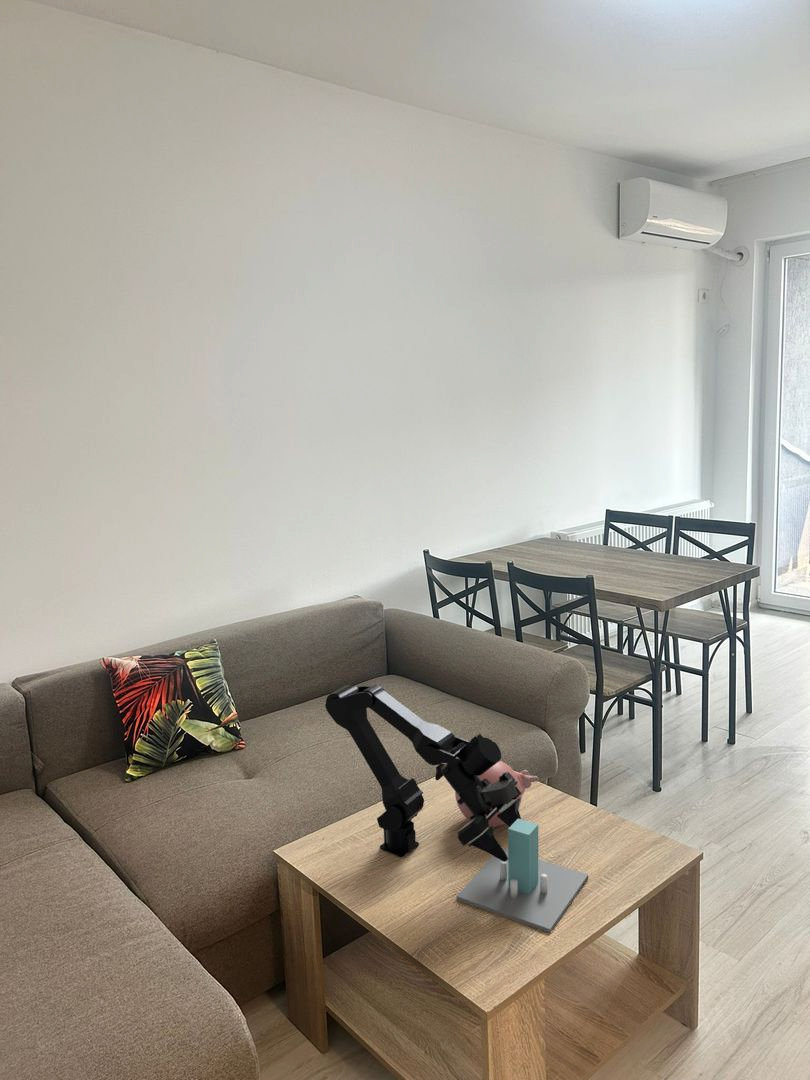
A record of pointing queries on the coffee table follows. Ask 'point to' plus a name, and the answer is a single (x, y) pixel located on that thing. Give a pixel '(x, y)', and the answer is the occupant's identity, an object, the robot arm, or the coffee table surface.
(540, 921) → the peg plate
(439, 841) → the coffee table surface
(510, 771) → the balloon
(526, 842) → the teal block
